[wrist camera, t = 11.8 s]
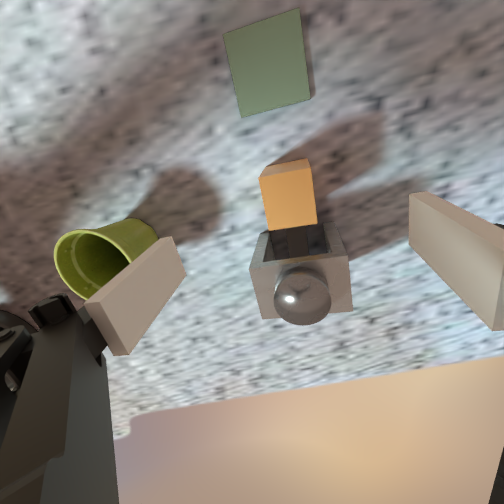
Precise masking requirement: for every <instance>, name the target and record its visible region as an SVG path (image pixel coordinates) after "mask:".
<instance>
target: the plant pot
mask: <svg viewBox="0 0 504 504" xmlns="http://www.w3.org/2000/svg"><path fill="white" fill-rule="evenodd" d="M156 241H158V237H157V235H156V233H155V231H154V230H153V229H152V228H151V227H150V226H148V225H147V224H145V223H143V222H142V221H141V220H139V219H134V218H129V219H125V220H122V221H119V222H116V223H113V224H110V225H107V226H104V227H101V228H98V229H77V230H73V231H70V232H68V233H66V234H64V235H63V236H62V237H61V238H60V239H59V240H58V241H57V243H56V245H55V248H54V261H55V266H56V269H57V271H58V273H59V274H60V276H61V278H62V280H63V281H64V282H65V283H66V284H67V286H68V287H69V288H70V289H71V290H72V291H73V292H74V293H76V294H77V295H79V296H80V297H81V298H83V299H85V300H88V299H89V298H90V297H91V296H93V295H94V294H95V293H96V292H97V291H98V290H100V289H101V288H102V287H103V286H104V285H106V284H107V283H108V282H109V281H110V280H111V279H113V278H114V277H115V276H116V275H117V274H119V273H120V272H121V271H122V270H123V269H124V268H126V267H127V266H128V265H129V264H130V263H132V262H133V261H134V260H135V259H136V258H138V257H139V256H140V255H141V254H142V253H143V252H145V251H146V250H147V249H148V248H149V247H151V246H152V245H153V244H154V243H155V242H156Z"/></svg>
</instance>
